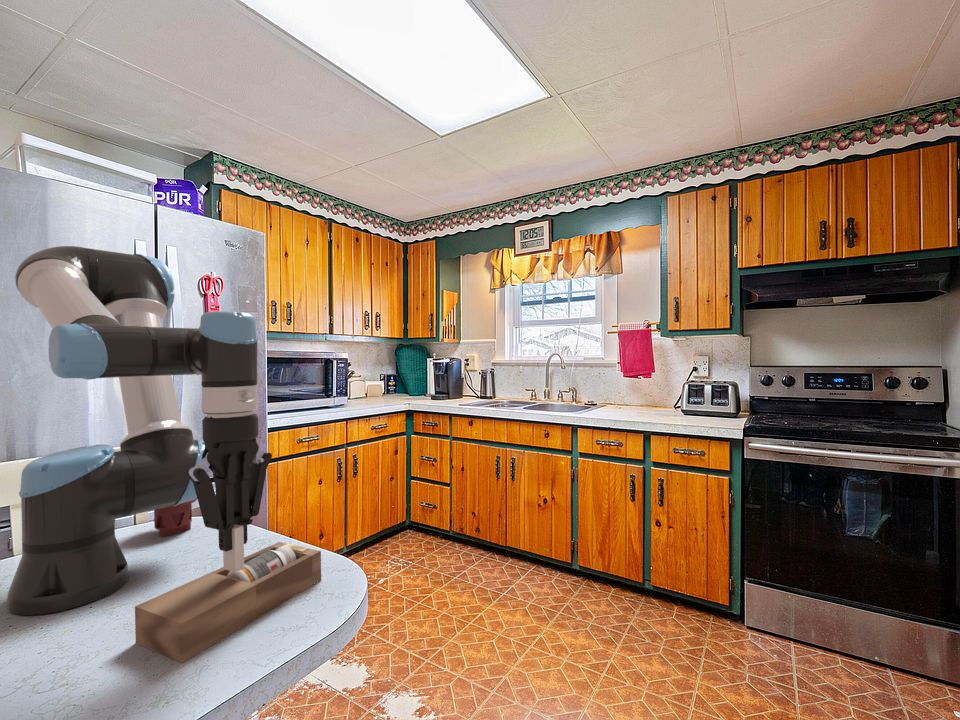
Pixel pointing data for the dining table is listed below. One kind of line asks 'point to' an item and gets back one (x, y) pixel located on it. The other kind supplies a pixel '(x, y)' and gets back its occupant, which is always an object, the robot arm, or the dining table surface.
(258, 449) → the robot arm
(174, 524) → the mechanical component
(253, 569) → the pill bottle
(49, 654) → the dining table surface
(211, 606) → the brown wooden open box
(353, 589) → the dining table surface
